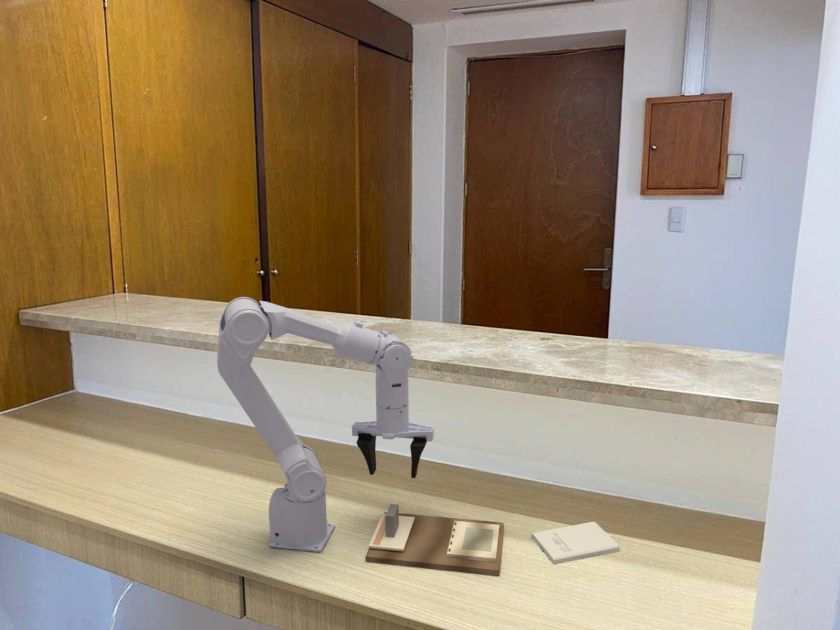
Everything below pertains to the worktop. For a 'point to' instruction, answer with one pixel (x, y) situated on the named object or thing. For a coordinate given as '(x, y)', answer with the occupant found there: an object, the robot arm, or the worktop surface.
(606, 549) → the external hard drive
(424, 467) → the worktop surface
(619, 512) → the worktop surface
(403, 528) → the stub
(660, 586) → the worktop surface
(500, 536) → the ticket board
